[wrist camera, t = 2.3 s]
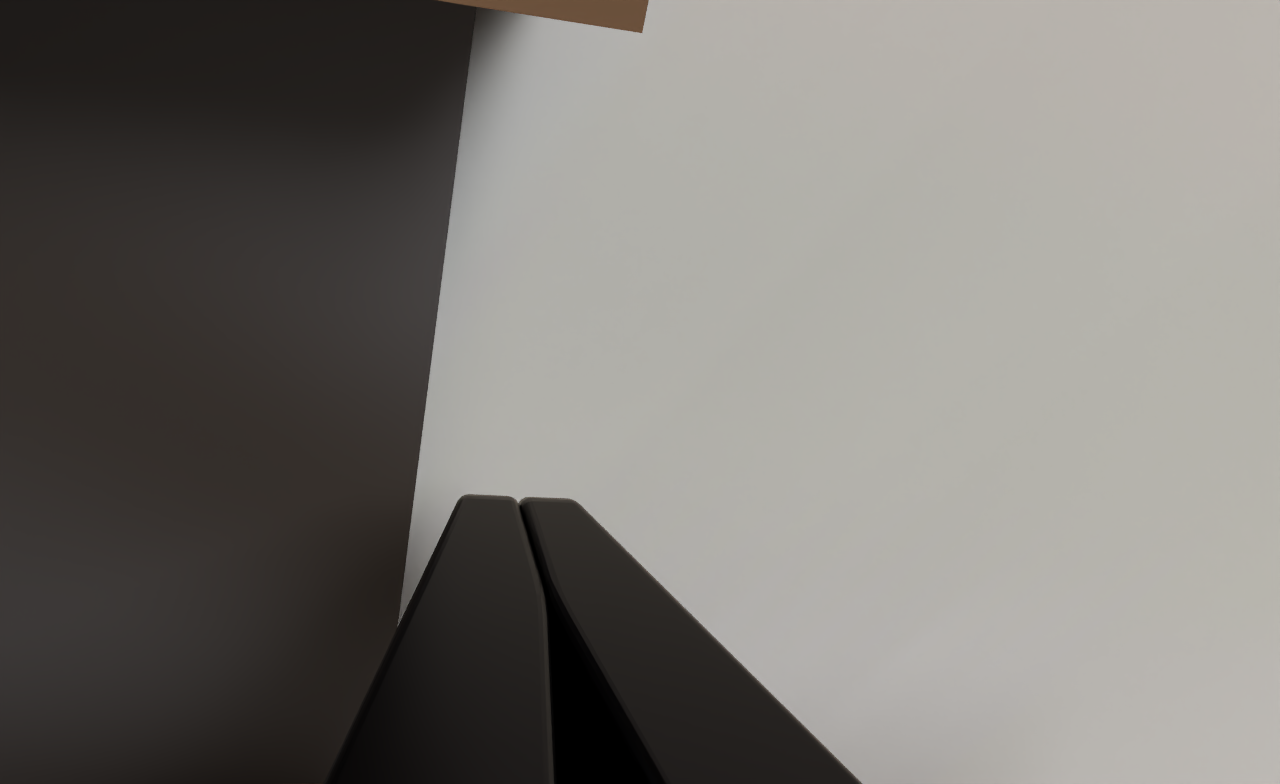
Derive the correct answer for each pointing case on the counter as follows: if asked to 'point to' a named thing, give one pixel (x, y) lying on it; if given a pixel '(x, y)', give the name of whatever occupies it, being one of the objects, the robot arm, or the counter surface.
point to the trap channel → (216, 368)
